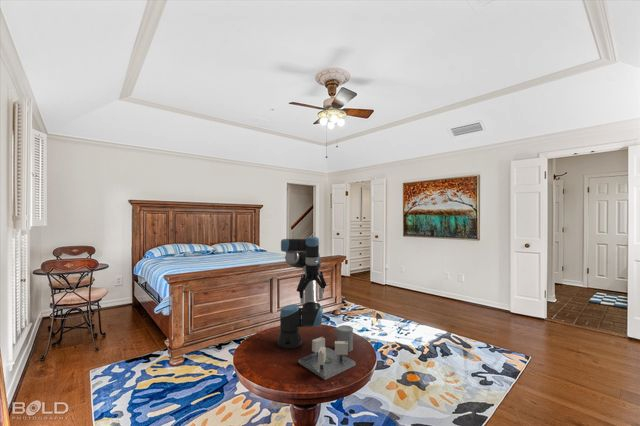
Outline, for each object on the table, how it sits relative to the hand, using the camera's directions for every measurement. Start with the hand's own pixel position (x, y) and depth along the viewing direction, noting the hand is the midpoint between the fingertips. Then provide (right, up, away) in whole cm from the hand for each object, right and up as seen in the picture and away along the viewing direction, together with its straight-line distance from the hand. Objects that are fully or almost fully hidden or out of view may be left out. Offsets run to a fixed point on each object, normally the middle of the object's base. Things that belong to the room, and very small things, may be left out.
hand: (311, 301), depth 174 cm
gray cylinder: (+20, -32, +11) cm, 39 cm away
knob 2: (+16, -30, -7) cm, 34 cm away
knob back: (+4, -30, -3) cm, 30 cm away
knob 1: (+6, -30, -16) cm, 34 cm away
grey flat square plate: (+8, -32, -8) cm, 34 cm away
